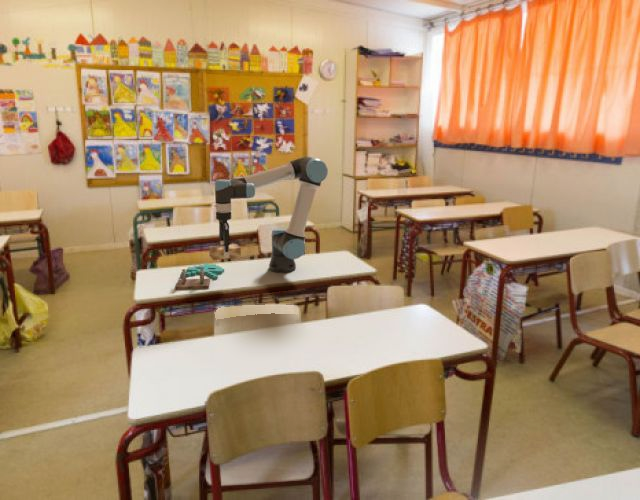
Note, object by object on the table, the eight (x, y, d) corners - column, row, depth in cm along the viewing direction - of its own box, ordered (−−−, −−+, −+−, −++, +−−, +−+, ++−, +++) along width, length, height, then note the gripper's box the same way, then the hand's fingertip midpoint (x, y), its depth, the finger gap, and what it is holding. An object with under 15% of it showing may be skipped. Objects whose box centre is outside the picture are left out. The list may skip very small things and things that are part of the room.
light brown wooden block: (236, 253, 252) (236, 243, 251) (240, 257, 245) (240, 247, 244) (209, 255, 247) (209, 246, 245) (213, 260, 240) (212, 250, 238)
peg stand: (210, 281, 254) (209, 266, 252) (208, 288, 244) (207, 273, 242) (178, 282, 252) (177, 267, 250) (175, 289, 242) (174, 274, 239)
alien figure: (216, 280, 257) (227, 268, 276) (216, 276, 257) (227, 264, 276) (180, 278, 259) (193, 267, 278) (180, 274, 258) (193, 263, 277)
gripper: (212, 207, 248) (213, 250, 254) (219, 215, 229) (221, 262, 235) (226, 207, 250) (228, 249, 257) (235, 215, 232) (236, 260, 238)
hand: (224, 255), depth 246 cm, fingers closed on light brown wooden block, 8 cm apart
